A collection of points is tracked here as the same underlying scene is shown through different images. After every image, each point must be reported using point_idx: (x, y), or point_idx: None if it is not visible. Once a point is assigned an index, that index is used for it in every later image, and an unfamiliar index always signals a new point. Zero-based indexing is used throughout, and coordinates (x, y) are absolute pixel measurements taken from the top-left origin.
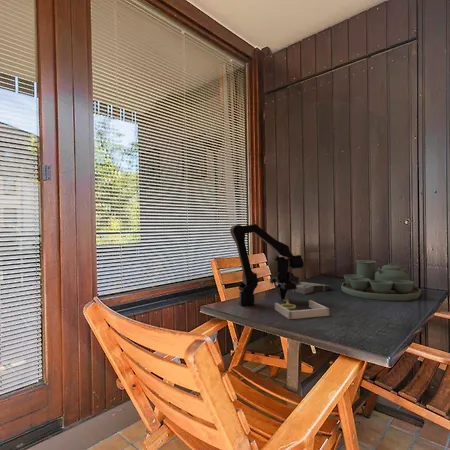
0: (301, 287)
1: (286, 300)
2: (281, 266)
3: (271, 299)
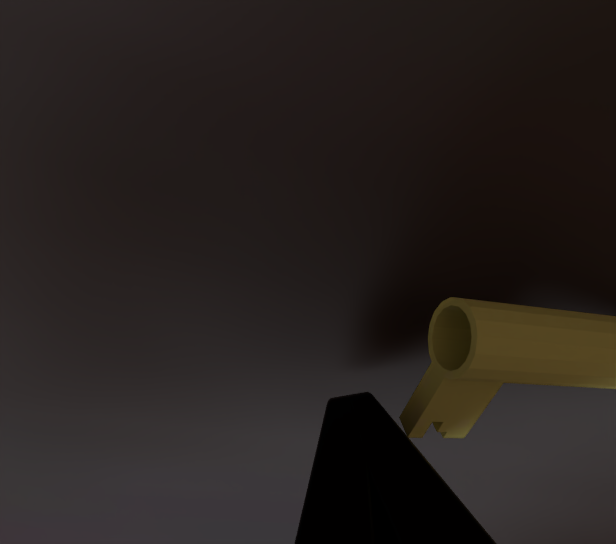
0: None
1: (558, 384)
2: None
3: (55, 517)
